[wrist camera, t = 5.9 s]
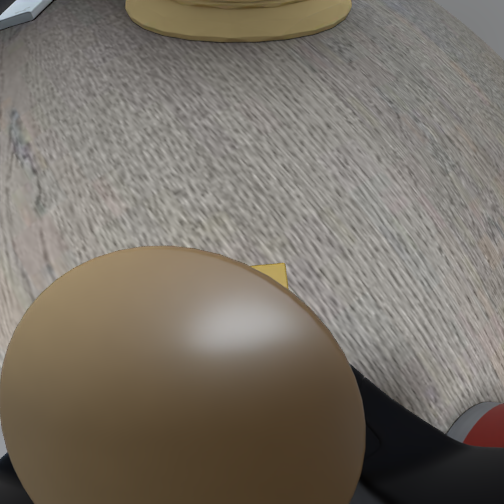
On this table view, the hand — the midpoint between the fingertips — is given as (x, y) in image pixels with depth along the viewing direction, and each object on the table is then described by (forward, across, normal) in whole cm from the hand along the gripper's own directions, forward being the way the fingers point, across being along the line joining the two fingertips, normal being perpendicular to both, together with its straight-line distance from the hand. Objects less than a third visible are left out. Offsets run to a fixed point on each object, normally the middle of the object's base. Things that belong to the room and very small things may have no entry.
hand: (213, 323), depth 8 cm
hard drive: (+34, +22, -24) cm, 47 cm away
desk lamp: (+27, -3, -17) cm, 32 cm away
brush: (+4, 0, +6) cm, 7 cm away
